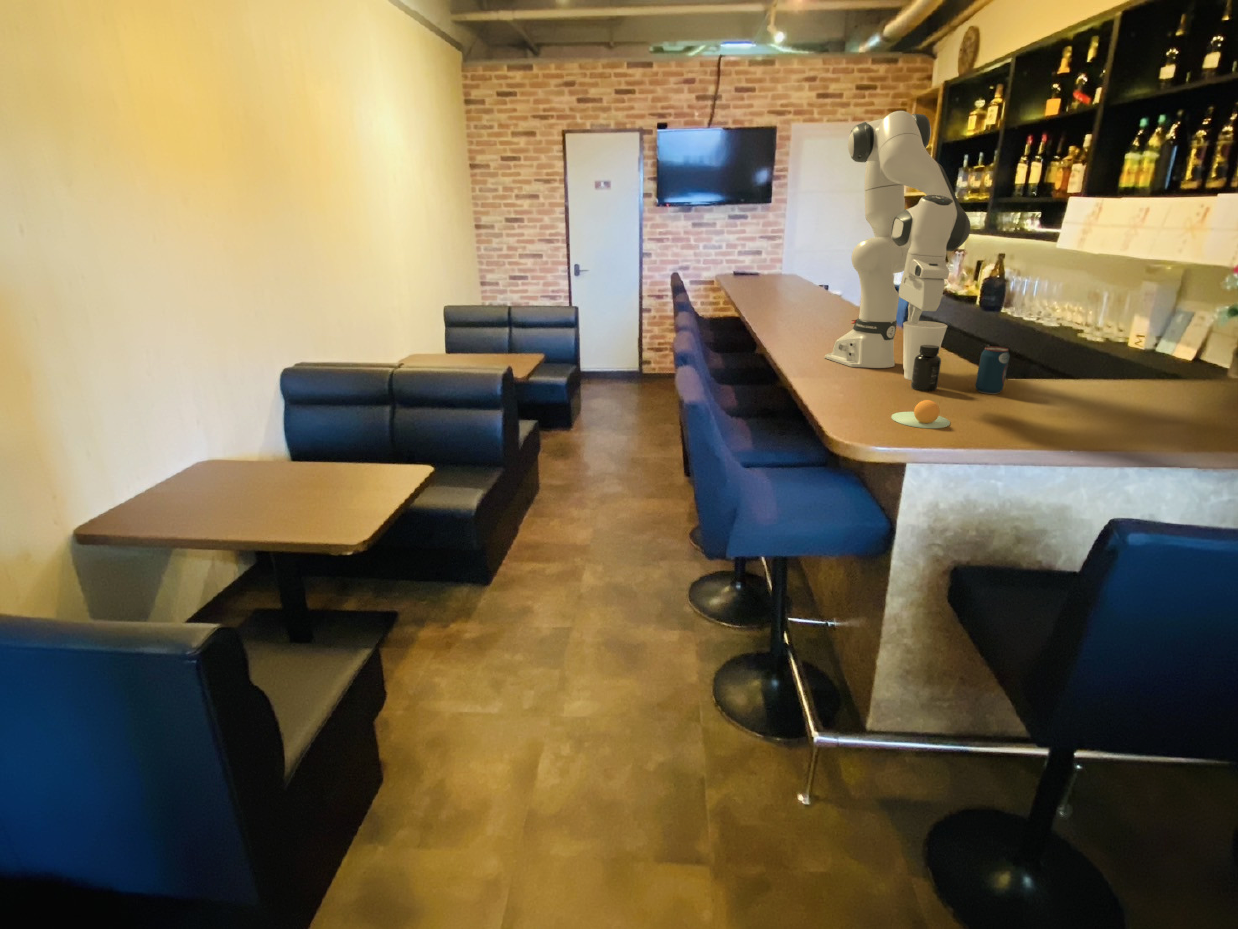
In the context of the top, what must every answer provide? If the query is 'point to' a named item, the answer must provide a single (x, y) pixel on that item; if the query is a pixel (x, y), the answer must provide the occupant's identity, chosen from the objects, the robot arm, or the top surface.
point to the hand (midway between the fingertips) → (912, 322)
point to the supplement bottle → (926, 369)
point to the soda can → (992, 370)
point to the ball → (926, 411)
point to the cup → (919, 341)
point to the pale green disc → (910, 420)
